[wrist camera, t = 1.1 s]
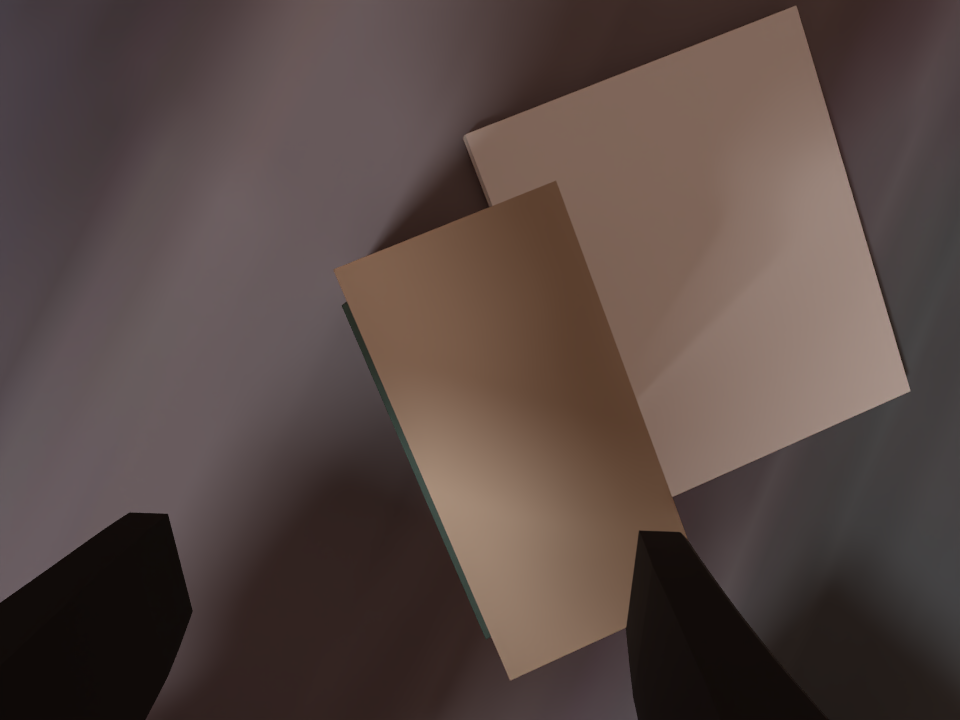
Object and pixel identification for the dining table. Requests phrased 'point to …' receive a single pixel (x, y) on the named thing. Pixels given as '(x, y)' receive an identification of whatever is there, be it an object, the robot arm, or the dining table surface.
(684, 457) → the beige mat
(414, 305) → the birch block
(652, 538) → the robot arm
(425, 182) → the dining table surface
